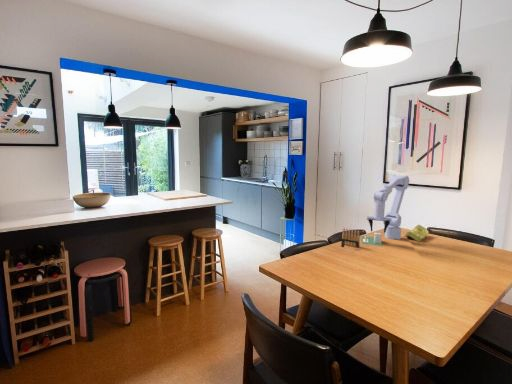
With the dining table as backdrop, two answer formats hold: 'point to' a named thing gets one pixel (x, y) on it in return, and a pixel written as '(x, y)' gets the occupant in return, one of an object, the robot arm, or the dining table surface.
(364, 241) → the header board
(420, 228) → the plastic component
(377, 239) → the plug housing
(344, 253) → the dining table surface
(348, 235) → the ammunition clip
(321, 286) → the dining table surface
